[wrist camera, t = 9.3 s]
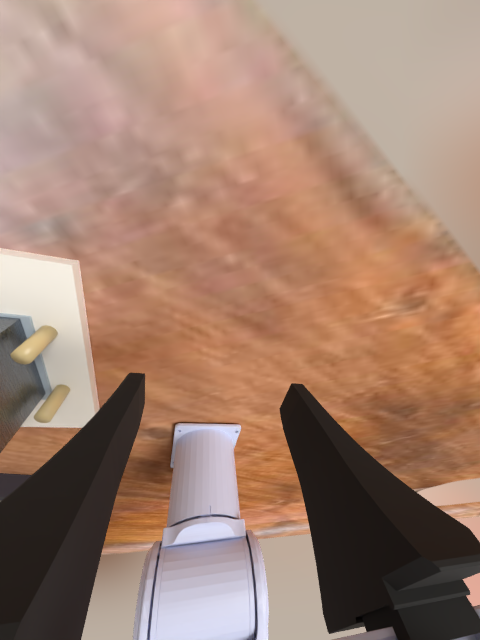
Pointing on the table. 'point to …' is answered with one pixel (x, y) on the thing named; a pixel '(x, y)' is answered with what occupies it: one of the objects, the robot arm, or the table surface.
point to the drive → (15, 381)
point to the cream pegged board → (51, 334)
